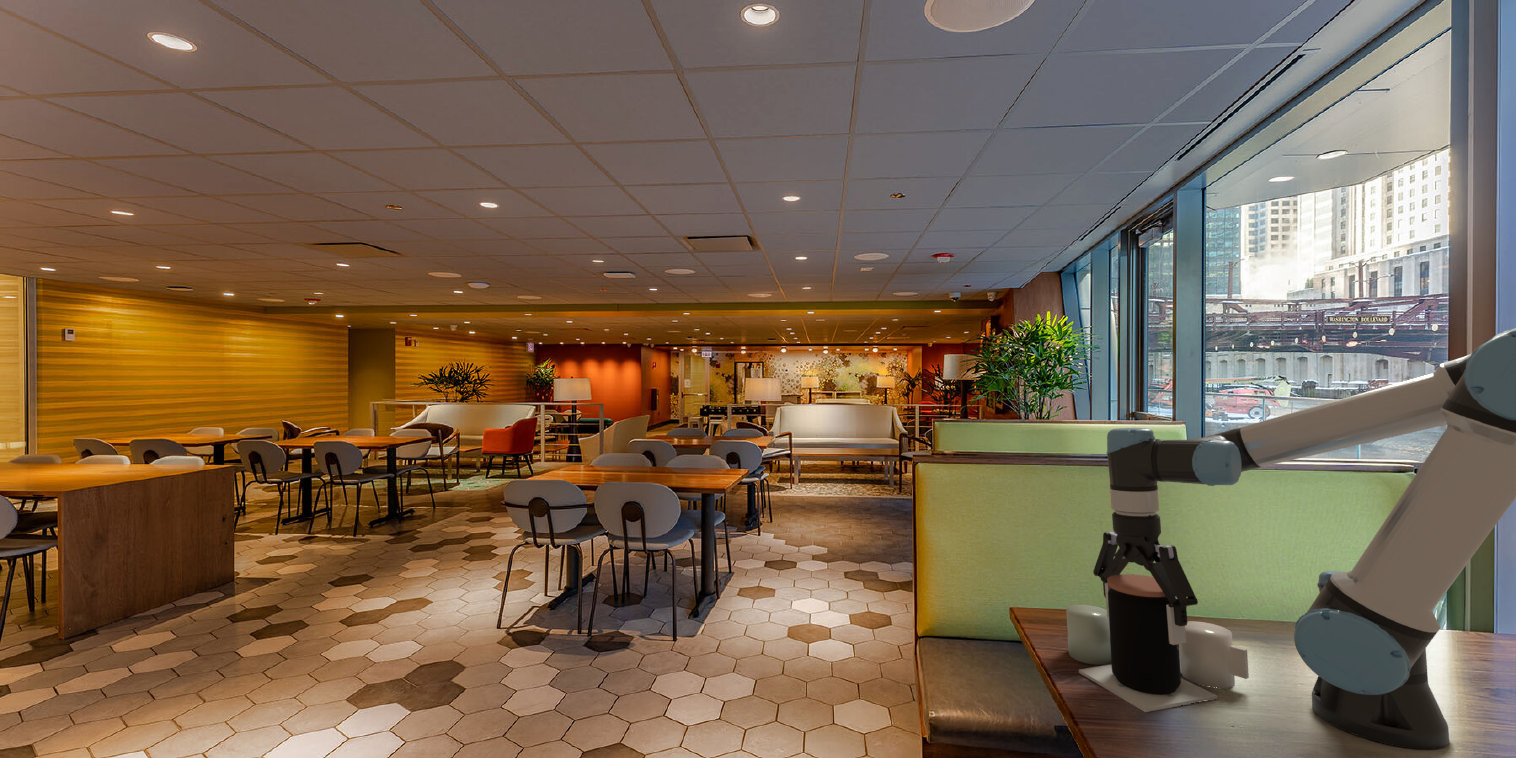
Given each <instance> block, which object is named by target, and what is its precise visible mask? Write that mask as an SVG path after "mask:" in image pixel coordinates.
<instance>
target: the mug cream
mask: <svg viewBox="0 0 1516 758" xmlns="http://www.w3.org/2000/svg"><path fill="white" fill-rule="evenodd" d="M1187 622H1188V623H1187V625H1185V634H1186V643H1182V644H1179V655H1180V673H1181V674H1182V675H1181V676H1182V678H1183V679H1185V678H1186V679H1185V680H1187V679H1188V680H1189V681H1188V680H1187V681H1188V682H1190V681H1191V682H1190V683H1193V682H1194V683H1193V684H1195V683H1196V684H1195V685H1198V684H1200V685H1199V686H1201V685H1204V686H1203V687H1205V686H1210V687H1215V688H1214V689H1217V688H1227V689H1231V688H1230V687H1232V686H1234V687H1235V685H1236V681H1235V679H1236V678H1235V677H1238V678H1241V679H1245V680H1248V679H1249V676H1250V675H1249V674H1250V673H1249V659H1248V658H1249V657H1248V648H1244V647H1241V646H1237V645H1234V644H1233V633H1232V632H1231V630H1229V629H1227V628H1225V627H1224V626H1221V625H1217V624H1214V623H1210V622H1205V621H1204V622H1203V621H1196V620H1195V621H1191V620H1190V621H1189V620H1187ZM1234 684H1235V685H1234ZM1210 687H1209V688H1210ZM1216 687H1217V688H1216ZM1232 688H1233V687H1232Z"/></svg>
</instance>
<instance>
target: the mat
mask: <svg viewBox="0 0 1516 758" xmlns="http://www.w3.org/2000/svg"><path fill="white" fill-rule="evenodd" d="M1078 673H1079V674H1080V675H1082V676H1083V677H1086V678H1087V679H1089V680H1091V681H1092V682H1093V683H1095V684H1097V685H1098V686H1100V687H1102V688H1104V689H1105V690H1107V691H1109V692H1110V693H1112V694H1113V695H1116V696H1117V697H1119V698H1120V699H1122V700H1124V701H1125V702H1127V703H1129V704H1131V705H1132V706H1134V707H1135V708H1137V709H1139V710H1141V711H1142V712H1144V713H1148V712H1153V711H1160V710H1166V709H1171V708H1176V707H1181V705H1183V706H1187V705H1192V704H1191V703H1194V702H1199V701H1204V700H1211V701H1214V700H1213V699H1216V700H1218V695H1216V694H1215V693H1212V692H1210V691H1208V690H1206V689H1204V688H1203V687H1200V686H1199V685H1197V684H1195V683H1193V682H1190V681H1188V680H1187V679H1185V678H1183V677H1181V684H1180V686H1179V687H1178V688H1177V689H1176V691H1175V692H1173V693H1171V694H1164V695H1158V694H1149V693H1143V692H1140V691H1136V690H1133V689H1131V688H1128V687H1126V686H1124V685H1123V684H1121V683H1120V682H1119V681H1118V680H1117V679H1116V677H1115V676H1114V674H1113V673H1112V665H1111V664H1106V665H1097V666H1094V667H1087V668H1081V669H1078ZM1199 703H1200V702H1199ZM1194 704H1195V703H1194Z"/></svg>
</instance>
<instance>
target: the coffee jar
mask: <svg viewBox="0 0 1516 758" xmlns="http://www.w3.org/2000/svg"><path fill="white" fill-rule="evenodd" d="M1107 582H1108V586H1109V587H1110V588H1111V589H1110V590H1109V591H1108V608H1109V627H1110V646H1111V663H1110V665H1112V673H1113V674H1114V676H1115V677H1116V679H1117V680H1118V681H1119V682H1120V683H1121V684H1123V685H1124V686H1126V687H1128V688H1131V689H1133V690H1136V691H1140V692H1143V693H1149V694H1158V695H1164V694H1171V693H1173V692H1175V691H1176V689H1177V688H1178V687H1179V686H1180V684H1181V678H1182V677H1181V676H1182V675H1181V661H1180V644H1176V645H1172V644H1170V643H1169V632H1168V620H1167V607H1166V605H1169V604H1170V602H1169V600H1168V599H1167V597H1166V596H1165V594H1164V593H1163V591H1162V590H1161V588H1160V587H1159V585H1158V583H1157V582H1156V580H1155V579H1154V577H1153V576H1149V575H1144V574H1132V573H1131V574H1129V573H1128V574H1127V573H1125V574H1124V573H1123V574H1122V573H1120V574H1119V575H1113V576H1110V577H1109V578H1107Z"/></svg>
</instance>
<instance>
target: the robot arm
mask: <svg viewBox="0 0 1516 758" xmlns="http://www.w3.org/2000/svg"><path fill="white" fill-rule="evenodd" d="M1446 425H1447V427H1446V429H1445V431H1443V433H1442V435H1441V436H1440V437H1439V439H1438V440H1437V442H1436V443H1435V445H1434V446H1433V448H1432V449H1431V451H1430V452H1429V454H1428V456H1427V457H1426V458H1425V460H1424V461H1423V463H1422V464H1421V466H1420V468H1419V469H1418V471H1417V472H1416V474H1414V476H1413V478H1412V480H1411V481H1410V483H1409V484H1408V485H1407V487H1406V489H1405V490H1404V491H1403V493H1402V495H1401V496H1400V498H1399V499H1398V501H1397V502H1396V503H1395V505H1394V507H1393V508H1392V510H1391V511H1390V513H1389V514H1388V515H1387V517H1386V518H1385V520H1384V522H1383V523H1382V525H1381V526H1380V528H1379V529H1378V531H1377V532H1376V534H1375V535H1374V537H1372V539H1371V542H1369V544H1368V546H1366V549H1365V550H1364V552H1363V553H1362V555H1361V556H1360V558H1359V559H1358V561H1356V563H1355V565H1354V567H1353V568H1352V570H1350V571H1340V570H1327V571H1326V570H1325V571H1323V572H1321V573H1320V574H1319V576H1318V582H1317V584H1316V586H1317V588H1318V591H1319V592H1318V595H1317V596H1316V598H1315V599H1314V600H1313V602H1312V603H1311V606H1310V607H1309V608H1308V610H1307V611H1306V612H1305V613H1304V614H1302V615H1301V616H1300V617H1299V618H1298V619H1297V621H1296V623H1295V625H1294V631H1293V632H1294V633H1293V643H1294V645H1295V648H1296V650H1297V653H1298V655H1299V656H1300V658H1301V660H1302V661H1303V662H1304V664H1305V665H1306V666H1307V667H1308V668H1309V669H1310V670H1311V671H1312V672H1313V673H1314V674H1316V676H1318V677H1317V678H1316V681H1315V683H1314V686H1313V689H1312V690H1311V691H1312V692H1311V706H1312V709H1313V712H1315V714H1317V715H1318V716H1319V717H1320V718H1321V719H1322V720H1325V721H1326V722H1327V723H1328V724H1331V725H1333V726H1335V727H1336V728H1338V729H1341V730H1344V731H1346V732H1348V733H1351V734H1352V735H1353V734H1354V735H1356V736H1359V737H1361V738H1363V739H1368V740H1370V741H1375V742H1378V743H1382V744H1385V745H1390V746H1394V747H1400V748H1408V749H1415V750H1437V749H1440V748H1444V747H1446V746H1447V745H1448V744H1449V743H1450V733H1449V731H1450V730H1449V725H1448V723H1447V720H1446V719H1445V717H1444V715H1443V712H1442V711H1441V708H1440V706H1439V703H1438V702H1437V699H1436V697H1435V695H1434V693H1433V691H1432V688H1431V687H1430V685H1429V678H1428V663H1427V662H1428V659H1427V647H1428V646H1429V645H1430V643H1431V642H1432V640H1433V639H1434V638H1435V636H1436V635H1437V634H1438V632H1439V631H1440V629H1441V625H1440V624H1439V622H1438V620H1437V618H1436V616H1435V614H1434V609H1435V608H1436V606H1437V605H1438V603H1440V601H1441V600H1442V599H1443V597H1444V596H1445V594H1446V593H1447V592H1448V590H1449V589H1450V587H1452V585H1453V584H1454V583H1455V581H1456V579H1457V578H1458V577H1459V576H1460V574H1461V573H1462V572H1463V570H1464V569H1465V567H1466V566H1467V564H1468V563H1469V561H1471V559H1472V558H1473V557H1474V556H1475V554H1476V552H1477V551H1478V550H1479V548H1480V546H1482V544H1483V543H1484V541H1485V540H1486V539H1487V537H1488V536H1489V535H1490V534H1491V532H1492V530H1494V528H1495V527H1496V525H1497V524H1498V522H1499V521H1500V519H1501V518H1502V517H1503V516H1504V514H1505V513H1506V512H1507V510H1508V509H1509V508H1510V506H1511V505H1512V504H1513V502H1514V501H1515V500H1516V327H1515V328H1512V329H1508V330H1504V331H1503V332H1500V333H1497V334H1495V335H1494V336H1492V337H1490V338H1488V339H1487V340H1485V341H1484V342H1483V343H1482V344H1481V345H1479V346H1478V347H1476V348H1475V349H1474V350H1473V352H1472V353H1470V354H1468V355H1465V356H1462V357H1458V358H1456V359H1453V360H1448V361H1445V362H1441V363H1440V364H1439V365H1438V367H1437V368H1436V370H1435V371H1434V372H1432V373H1429V374H1426V375H1421V376H1418V377H1415V378H1411V379H1408V380H1404V381H1401V382H1397V383H1393V384H1390V385H1386V386H1383V387H1379V388H1376V389H1371V390H1369V391H1364V392H1361V393H1358V394H1355V395H1350V396H1348V397H1344V398H1341V399H1336V400H1333V401H1330V402H1326V403H1322V404H1318V405H1315V406H1311V407H1309V408H1304V409H1301V410H1297V411H1294V412H1290V413H1286V414H1282V415H1280V416H1276V417H1273V418H1270V419H1265V420H1262V421H1259V422H1254V423H1251V424H1247V425H1243V426H1242V427H1237V428H1233V429H1230V430H1226V431H1223V432H1219V433H1215V434H1211V435H1210V434H1209V435H1208V436H1203V437H1198V438H1194V439H1160V438H1156V436H1155V433H1154V431H1153V430H1152V429H1151V428H1147V427H1144V428H1143V427H1122V428H1121V427H1120V428H1119V427H1118V428H1113V429H1111V430H1109V431H1108V432H1107V435H1106V455H1107V465H1108V474H1109V489H1110V490H1109V493H1110V507H1111V509H1112V510H1113V512H1112V514H1111V518H1112V530H1113V531H1106V532H1103V534H1102V544H1101V547H1100V551H1099V555H1098V556H1097V560H1096V563H1095V566H1094V568H1093V571H1092V573H1093V575H1094V576H1095V577H1099V578H1100V581H1101V582H1102V586H1103V597H1104V598H1105V605H1106V610H1107V617H1108V618H1109V608H1108V591H1109V590H1110V589H1111V588H1110V587H1109V586H1108V582H1107V578H1109V577H1110V576H1113V575H1120V574H1122V572H1123V571H1124V569H1125V568H1126V567H1127V566H1128V564H1129V563H1135V564H1137V565H1138V566H1141V567H1143V568H1144V569H1145V570H1146V571H1149V573H1150V574H1151V577H1154V579H1155V580H1156V582H1157V583H1158V585H1159V587H1160V588H1161V590H1162V591H1163V593H1164V594H1165V596H1166V597H1167V599H1168V600H1169V602H1170V604H1169V605H1166V607H1167V620H1168V632H1169V643H1170V644H1172V645H1176V644H1179V645H1180V644H1182V643H1186V634H1185V625H1187V623H1188V622H1187V621H1188V612H1187V607H1190V606H1197V605H1198V603H1199V601H1198V599H1197V597H1196V594H1195V592H1194V590H1193V588H1192V586H1191V583H1190V582H1189V579H1188V578H1187V575H1186V574H1185V573H1186V572H1185V570H1184V568H1183V566H1182V564H1181V563H1180V559H1179V557H1178V552H1177V548H1176V546H1175V545H1173V544H1172V545H1163V544H1160V542H1159V537H1160V535H1161V534H1162V525H1161V516H1160V514H1158V513H1157V512H1159V511H1160V502H1159V491H1158V490H1159V487H1158V482H1160V483H1167V482H1168V483H1182V484H1195V485H1207V486H1209V487H1214V486H1232V485H1233V486H1234V485H1235V484H1237V483H1238V482H1239V480H1240V477H1241V475H1242V473H1244V472H1247V471H1252V470H1256V469H1259V468H1263V467H1267V466H1271V465H1272V466H1273V465H1277V464H1281V463H1285V462H1289V461H1293V460H1298V459H1302V458H1303V459H1304V458H1307V457H1311V456H1315V455H1316V456H1317V455H1320V454H1324V453H1329V452H1333V451H1338V450H1341V449H1346V448H1351V447H1355V446H1359V445H1363V444H1369V443H1372V442H1376V441H1381V440H1385V439H1390V438H1394V437H1399V436H1403V435H1407V434H1411V433H1416V432H1420V431H1425V430H1429V429H1433V428H1437V427H1438V428H1439V427H1442V426H1446Z"/></svg>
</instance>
